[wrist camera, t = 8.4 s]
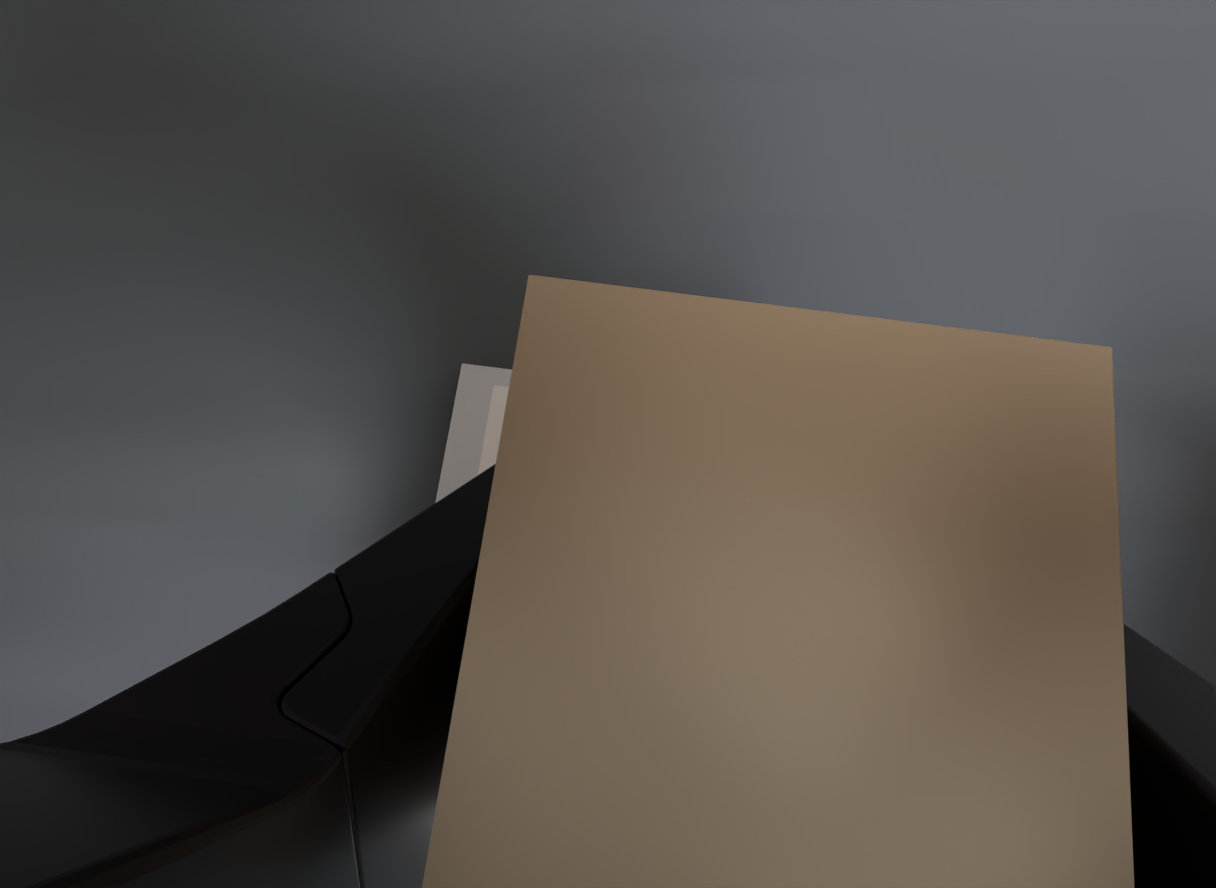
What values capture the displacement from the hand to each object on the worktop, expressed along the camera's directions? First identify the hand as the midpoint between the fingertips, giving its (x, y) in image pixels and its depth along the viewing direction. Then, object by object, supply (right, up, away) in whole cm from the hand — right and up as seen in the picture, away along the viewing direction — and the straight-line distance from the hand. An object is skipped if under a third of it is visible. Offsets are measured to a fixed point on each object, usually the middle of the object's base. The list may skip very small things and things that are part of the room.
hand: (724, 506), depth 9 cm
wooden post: (0, -3, +7) cm, 7 cm away
